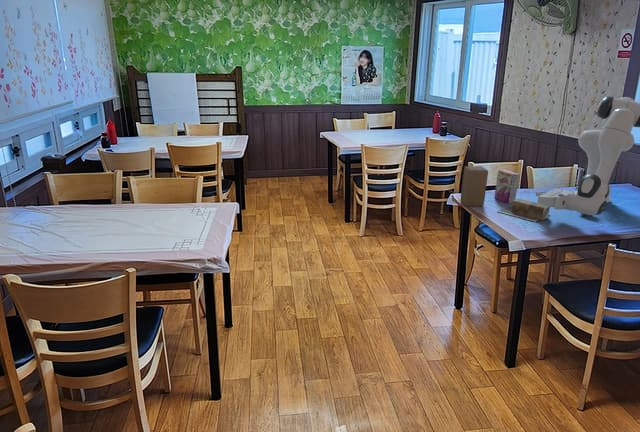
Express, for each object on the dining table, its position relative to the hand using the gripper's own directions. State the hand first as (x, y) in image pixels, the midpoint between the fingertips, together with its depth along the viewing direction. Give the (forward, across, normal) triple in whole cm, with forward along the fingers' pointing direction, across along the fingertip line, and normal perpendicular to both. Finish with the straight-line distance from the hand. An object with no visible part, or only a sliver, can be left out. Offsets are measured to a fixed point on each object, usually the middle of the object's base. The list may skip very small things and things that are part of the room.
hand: (537, 193), depth 224 cm
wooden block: (+31, +6, +12) cm, 34 cm away
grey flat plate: (+5, 0, +12) cm, 13 cm away
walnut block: (-6, 0, +9) cm, 10 cm away
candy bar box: (+22, -13, +12) cm, 29 cm away
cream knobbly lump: (-16, -22, +12) cm, 30 cm away
